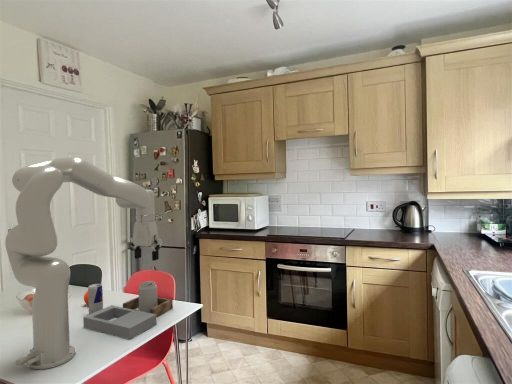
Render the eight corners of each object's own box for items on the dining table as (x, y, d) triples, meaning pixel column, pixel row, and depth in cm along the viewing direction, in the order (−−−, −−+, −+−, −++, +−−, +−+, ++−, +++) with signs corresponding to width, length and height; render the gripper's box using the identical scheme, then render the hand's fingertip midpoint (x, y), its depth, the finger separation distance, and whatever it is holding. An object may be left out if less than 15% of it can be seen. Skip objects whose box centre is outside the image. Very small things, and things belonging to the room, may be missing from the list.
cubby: (152, 319, 131) (152, 309, 131) (122, 312, 138) (122, 303, 138) (172, 308, 142) (172, 299, 141) (144, 303, 149) (143, 294, 148)
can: (154, 314, 136) (153, 285, 136) (136, 314, 136) (135, 285, 136) (159, 307, 143) (159, 280, 143) (142, 307, 144) (142, 280, 143)
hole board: (130, 339, 114) (129, 328, 114) (83, 327, 124) (83, 317, 124) (156, 324, 126) (156, 314, 126) (111, 314, 136) (111, 305, 136)
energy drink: (105, 313, 137) (104, 285, 137) (91, 317, 134) (90, 288, 133) (100, 310, 141) (99, 282, 141) (86, 314, 137) (85, 285, 137)
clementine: (84, 302, 150) (84, 287, 150) (101, 300, 153) (100, 285, 153) (83, 308, 143) (83, 292, 143) (101, 305, 146) (100, 290, 146)
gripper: (123, 219, 139) (124, 259, 139) (155, 220, 131) (156, 262, 132) (137, 217, 145) (138, 255, 146) (167, 218, 138) (168, 258, 139)
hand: (146, 259), depth 139 cm, fingers open, 9 cm apart
